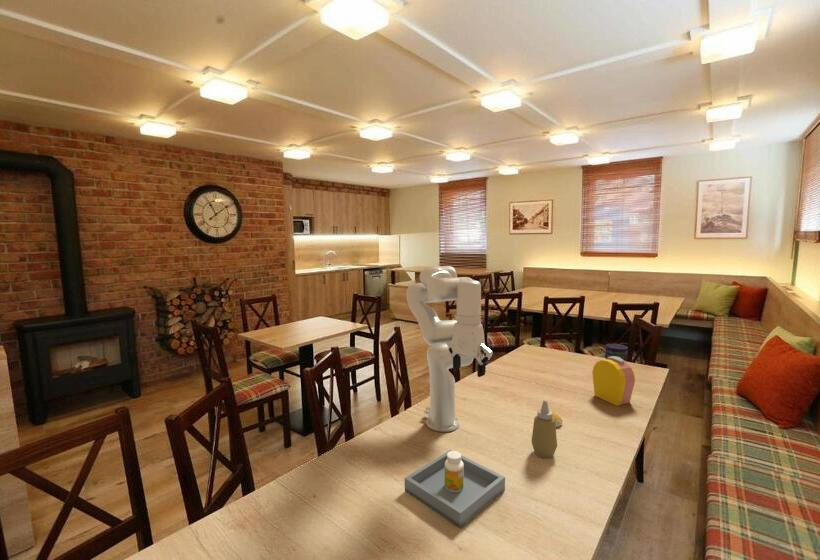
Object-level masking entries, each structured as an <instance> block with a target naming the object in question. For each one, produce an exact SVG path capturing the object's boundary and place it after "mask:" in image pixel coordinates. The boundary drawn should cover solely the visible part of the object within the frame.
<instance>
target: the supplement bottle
mask: <svg viewBox="0 0 820 560" xmlns="http://www.w3.org/2000/svg"><path fill="white" fill-rule="evenodd" d="M447 452H448V451H447ZM461 455H462V454H461V453H460V451H457V450H451V451H450V452H448V453H447V460H446V461H445V488H446V489H447V490H448V491H450V492H460V491H461V490H462V489H463V487H464V464H463V462H462V460H461Z"/></svg>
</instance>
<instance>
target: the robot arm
mask: <svg viewBox="0 0 820 560" xmlns="http://www.w3.org/2000/svg"><path fill="white" fill-rule="evenodd" d="M419 281H420V282H418V283H413V284H411V285H409V286H408V288H406V291H405V293H406V303H407V305H408V307H409V310H410V312H411V314H413V315H414V317H415V319H416V320H417V323H418V326H419V328H420V331H421V334H422V338H423V339H424V342H425V343H426V345H429V347H428V349H427V351H426V359H427V363H428V372H429V405H430V406H428V405H427V406H426V407H425V409H424V411H423V412H424V414H426V415H427V416H428V417H427V419H426V421H425V423H426V427H427V428H428V429H430V430H432V431H435V432H440V433H446V432H452V431H455V430H456V429H458V428H459V427H460V420H459V418H458V417H456V380H455V377H454V375H453V374H452V373H451V371H449V369H453V370H454V371H455V370H457V369H460V368H461V367H466V366H470V365H471V364H472V363H473V361H474V359H476V360H477V363H478V364H476V365H477V366H476V367H477V372H476V373H477V375H476V376H477V377H478V378H482V377H483V376H485V375H486V369H487V368H486V366H487V365H486V364H487V363H488V362H489V361H490V360H491V358H492V356H493V354H494V352H493V350H491V348H489V347H487V346H486V342H485V333H484V332H485V331H484V327H483V324H482V320H481V319H482V316H481V315H482V285H481V282H480V281H478V280H474V279H472V278H471V277H467V276H462V277H461V276H460V277H458V274H457V271H456V268H454V267H453V266H451V265H437V266H434V265H433V266H427V267H425V268H423V269H422V270H421V272H420V273H419ZM448 301H449V302H451V301H456V313H455V314H454V318H455V319H447V320H441V319H440V318H439V314H438V313H437V311H436V310H435V309H434V308H433V307H431V306H430V305H429V303H442V302H448ZM427 303H428V304H427Z"/></svg>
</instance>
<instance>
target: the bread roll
mask: <svg viewBox="0 0 820 560" xmlns="http://www.w3.org/2000/svg"><path fill="white" fill-rule="evenodd" d="M552 417H553V418H554V419H555V424H556V428H560V427H561V426H562V424H563V419H562V417H561V416H560V415H558V414H557V413H556V412H554V411H552Z"/></svg>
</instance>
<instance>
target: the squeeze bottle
mask: <svg viewBox="0 0 820 560" xmlns="http://www.w3.org/2000/svg"><path fill="white" fill-rule="evenodd" d="M552 412H553V411H551V410H550V408H549V403H548V401H547V400H542V405H541V408H540V409H538V410H537V414H536V415H535V416H534V418H533V426H532V433H531V445H532V448H533V451H534V453H535V455H537V456H538V457H539V458H544V459H545V458H546V459H547V458H548V459H549V458H552V457H554V456H555V453H556V450H557V448H558V440H557V439H558V438H557V427H556V424H555V419H554V418H553V417H552Z"/></svg>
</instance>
